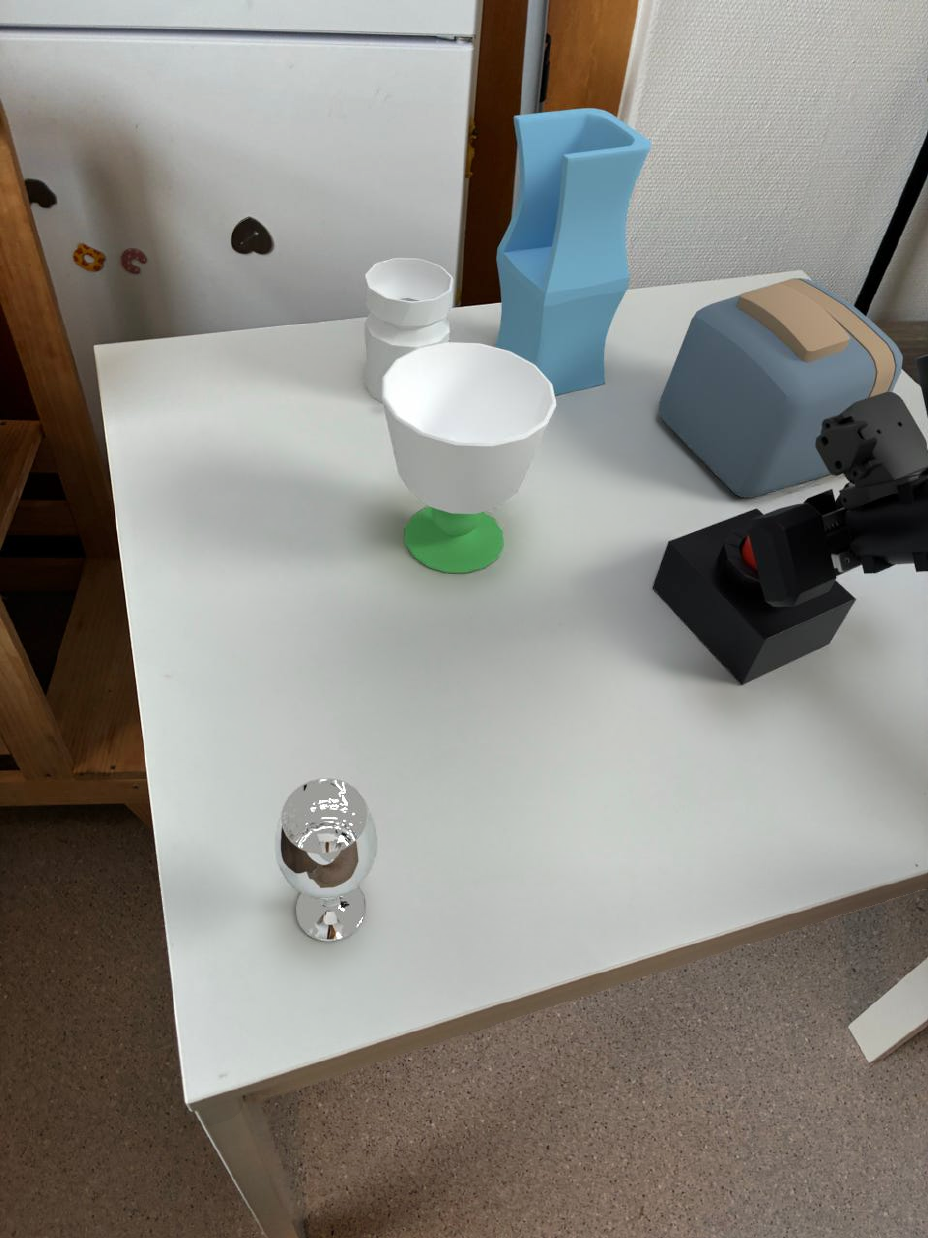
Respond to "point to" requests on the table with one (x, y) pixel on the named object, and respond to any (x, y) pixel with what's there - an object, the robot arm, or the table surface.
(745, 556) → the button
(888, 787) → the table surface
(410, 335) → the vase
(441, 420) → the cup
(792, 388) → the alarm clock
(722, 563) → the control block
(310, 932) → the wineglass
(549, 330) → the vase
